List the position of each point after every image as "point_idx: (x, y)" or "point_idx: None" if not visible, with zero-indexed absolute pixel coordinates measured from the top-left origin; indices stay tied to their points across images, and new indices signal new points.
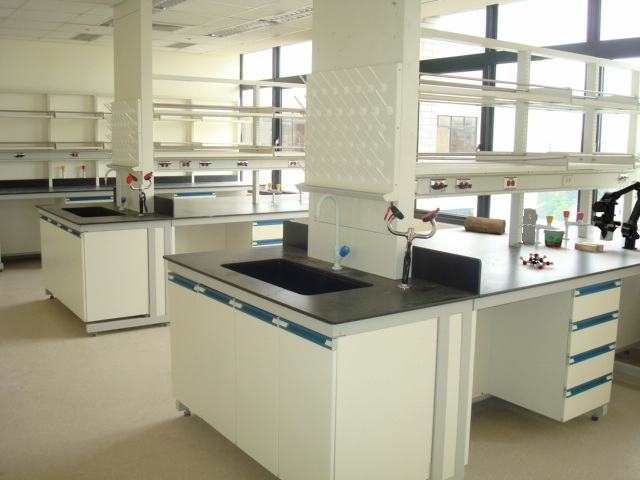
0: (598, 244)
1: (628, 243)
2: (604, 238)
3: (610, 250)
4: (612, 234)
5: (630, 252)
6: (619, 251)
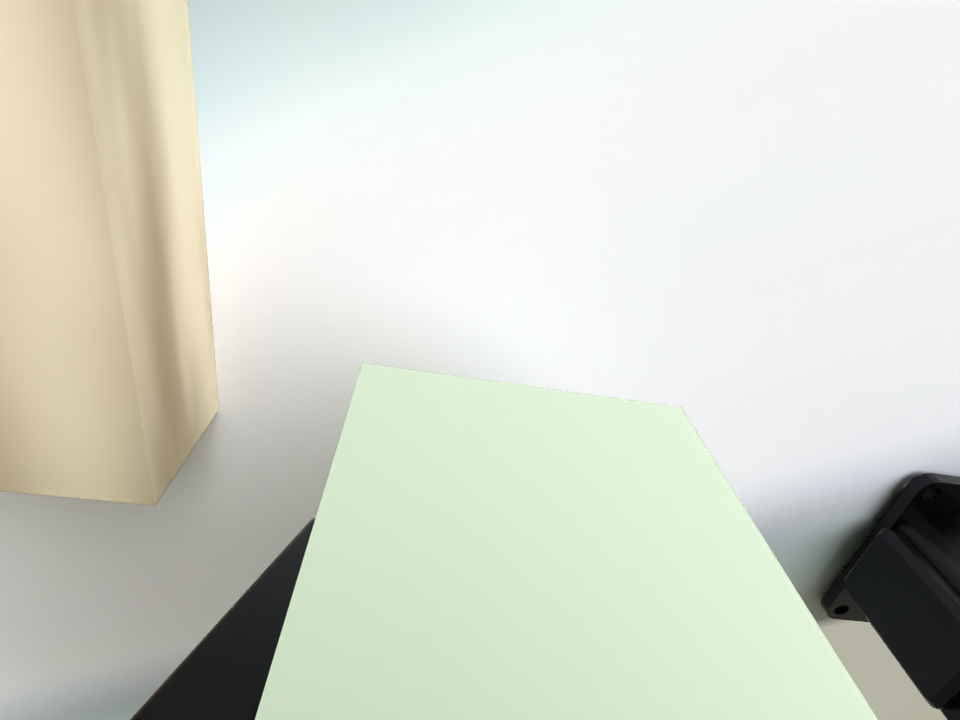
0: (64, 405)
1: (901, 661)
2: None
3: None
4: None
5: None
6: None
